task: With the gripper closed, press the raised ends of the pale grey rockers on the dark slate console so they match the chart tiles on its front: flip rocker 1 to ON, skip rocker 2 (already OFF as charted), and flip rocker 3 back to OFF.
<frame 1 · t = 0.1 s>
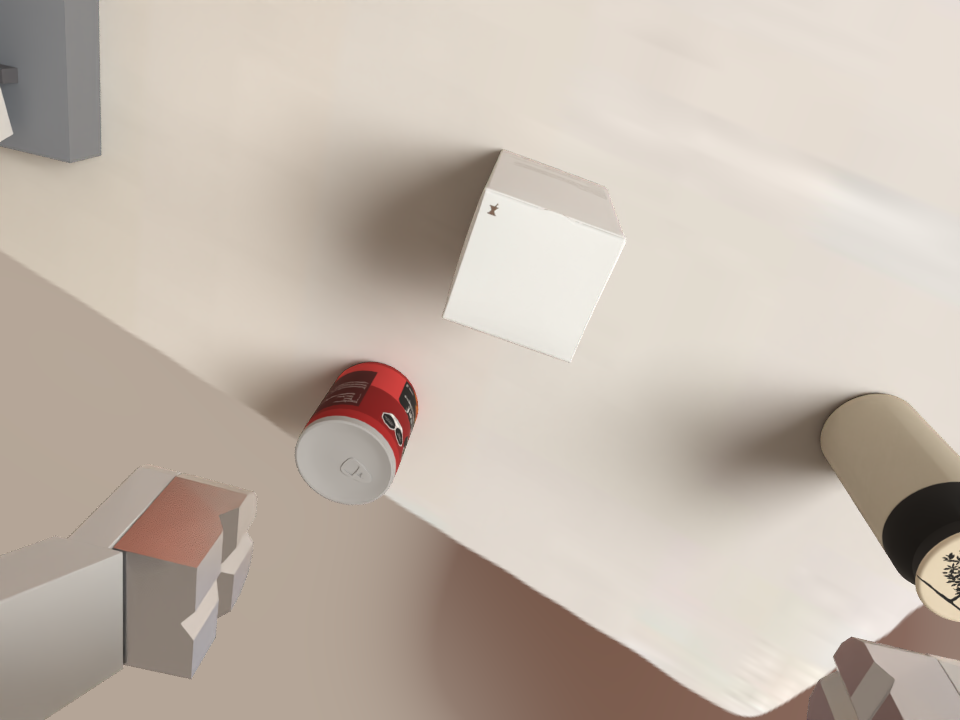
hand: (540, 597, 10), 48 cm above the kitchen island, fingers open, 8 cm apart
travel mug: (867, 432, 60), on the kitchen island
supplement box: (536, 221, 56), on the kitchen island
canned food: (377, 397, 64), on the kitchen island
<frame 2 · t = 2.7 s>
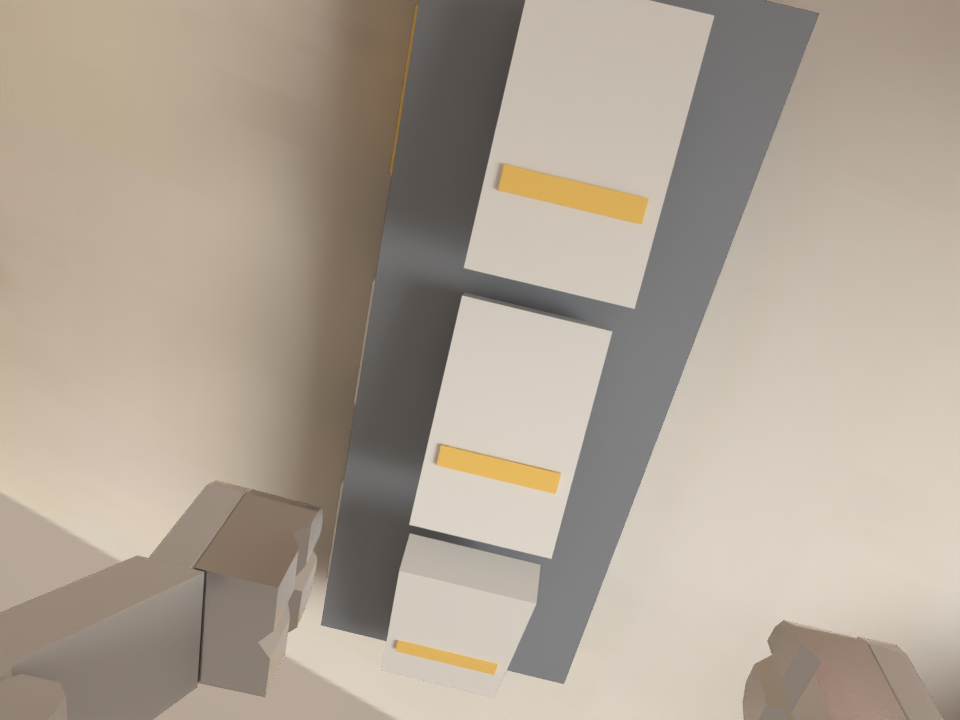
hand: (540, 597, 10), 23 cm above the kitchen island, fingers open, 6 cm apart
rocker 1: (582, 149, 23), point 7 cm above the kitchen island, hinge at -16.0°
rocker 3: (454, 623, 32), point 7 cm above the kitchen island, hinge at 16.0°
console: (517, 351, 33), on the kitchen island
rocker 2: (508, 425, 27), point 7 cm above the kitchen island, hinge at -16.0°
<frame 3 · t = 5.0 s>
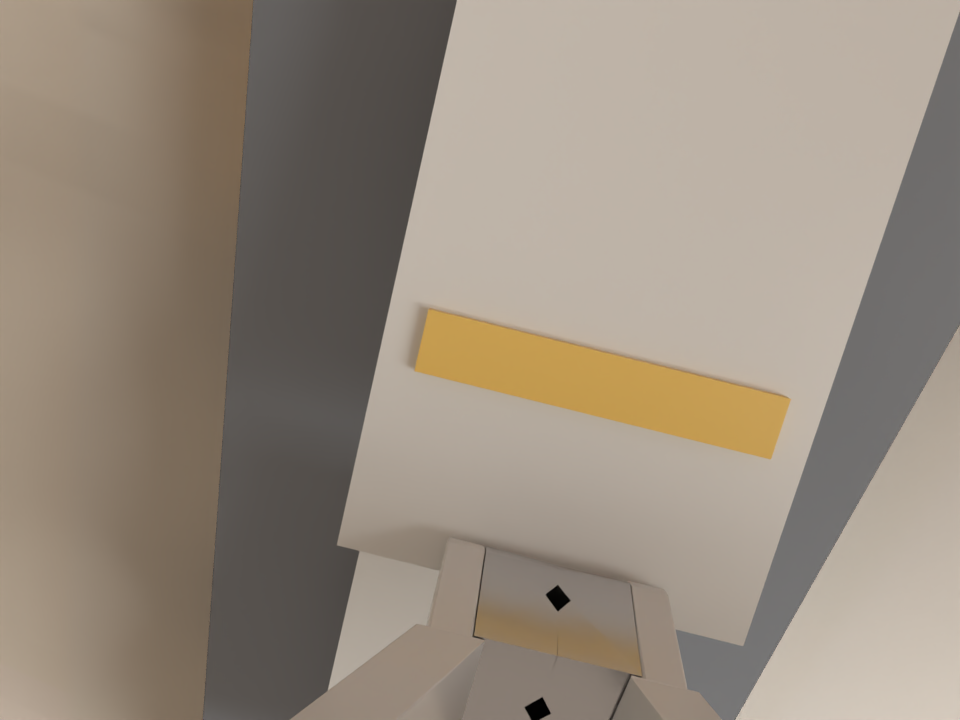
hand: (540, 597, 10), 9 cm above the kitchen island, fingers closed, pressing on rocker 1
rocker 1: (621, 263, 9), point 7 cm above the kitchen island, hinge at -15.5°, touching gripper
console: (493, 531, 20), on the kitchen island
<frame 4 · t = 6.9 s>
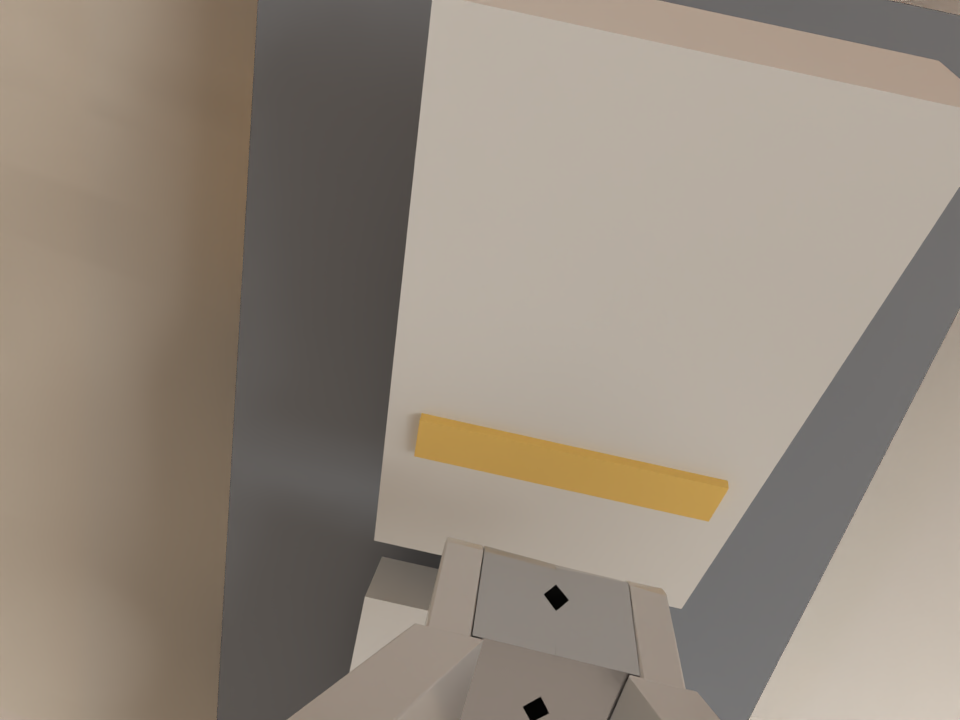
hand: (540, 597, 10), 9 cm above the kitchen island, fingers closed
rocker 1: (595, 355, 10), point 7 cm above the kitchen island, hinge at 15.7°
console: (491, 575, 21), on the kitchen island
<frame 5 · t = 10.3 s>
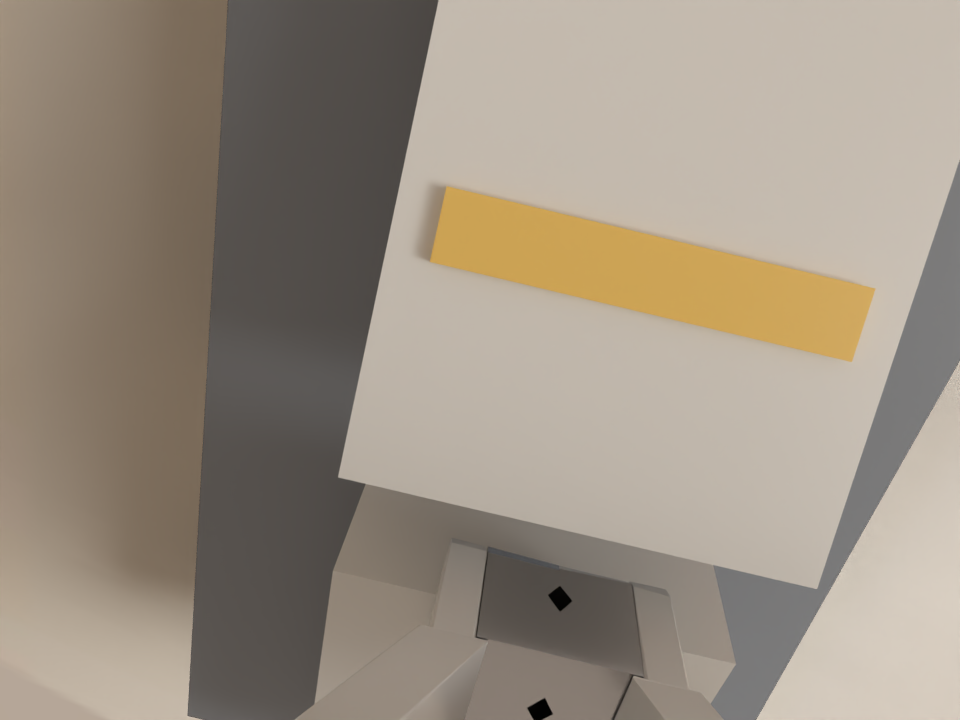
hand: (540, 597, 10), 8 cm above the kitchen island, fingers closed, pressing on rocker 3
console: (614, 99, 15), on the kitchen island
rocker 2: (667, 144, 8), point 7 cm above the kitchen island, hinge at -16.0°
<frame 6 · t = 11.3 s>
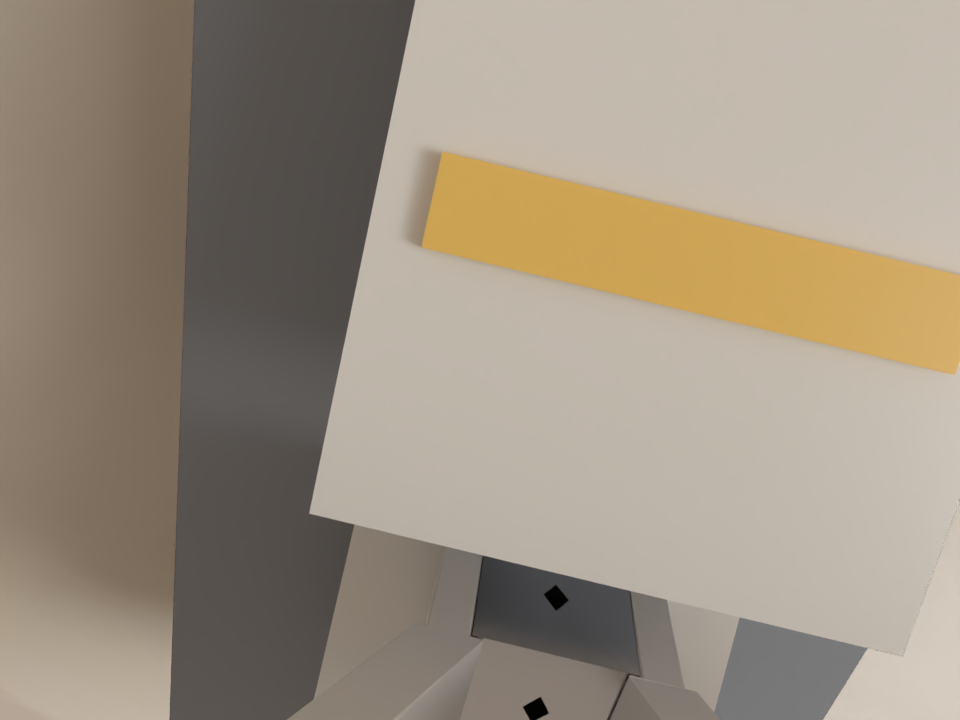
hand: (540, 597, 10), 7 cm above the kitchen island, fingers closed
console: (639, 74, 13), on the kitchen island
rocker 2: (717, 104, 7), point 7 cm above the kitchen island, hinge at -16.0°
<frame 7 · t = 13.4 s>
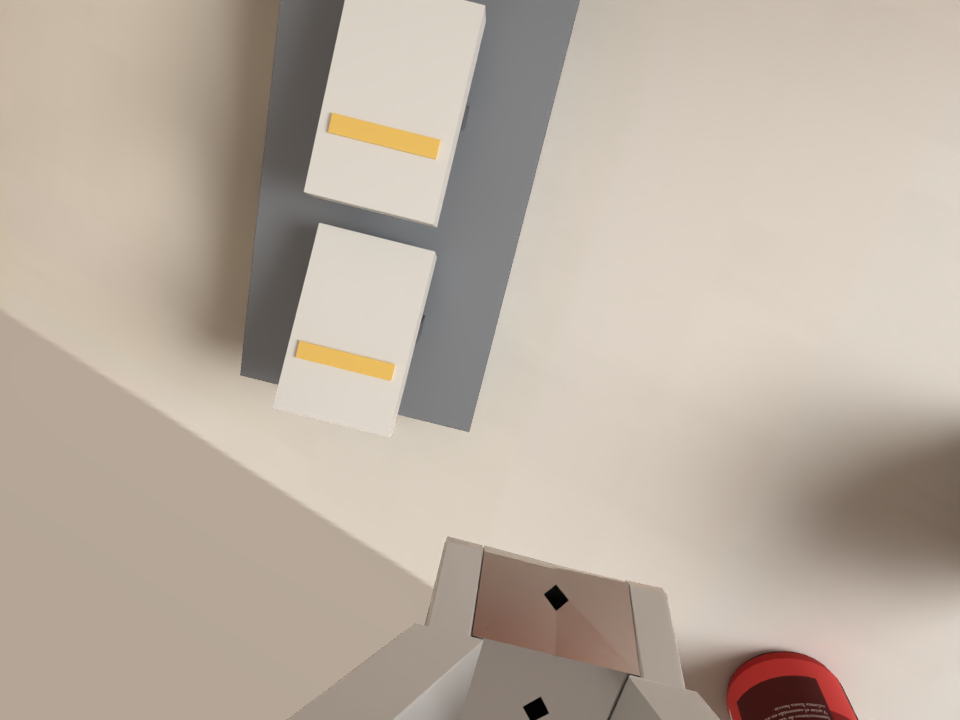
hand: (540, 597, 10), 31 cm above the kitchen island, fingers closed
rocker 3: (356, 330, 34), point 7 cm above the kitchen island, hinge at -23.2°
console: (423, 100, 36), on the kitchen island
canned food: (780, 689, 49), on the kitchen island
rocker 2: (395, 105, 30), point 7 cm above the kitchen island, hinge at -16.0°
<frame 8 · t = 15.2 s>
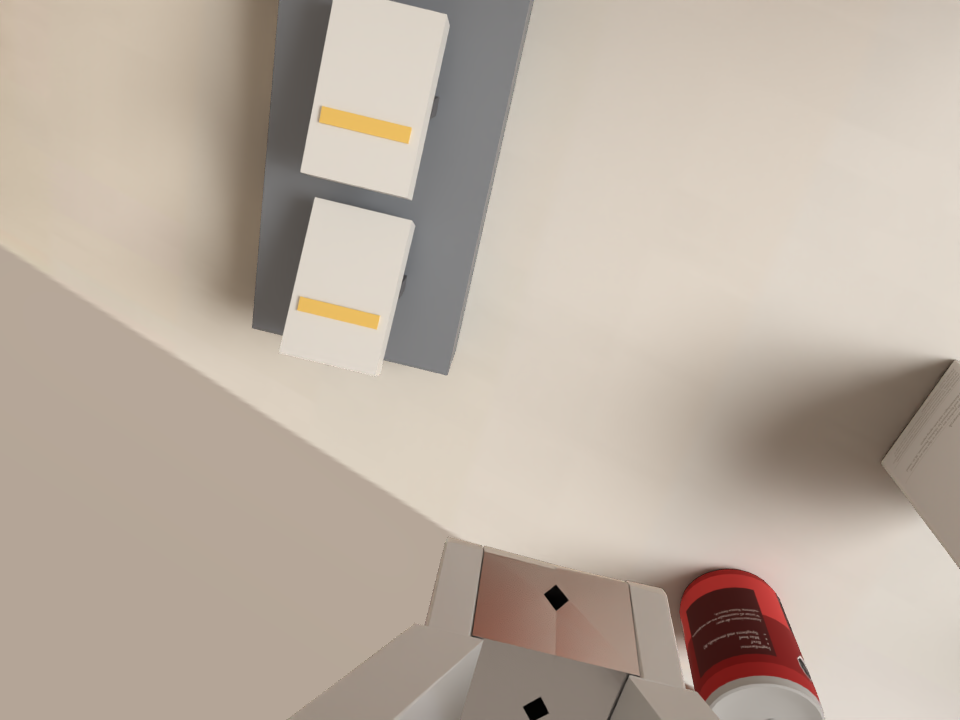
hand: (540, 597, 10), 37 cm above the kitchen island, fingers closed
rocker 3: (347, 288, 40), point 7 cm above the kitchen island, hinge at -23.2°
console: (403, 89, 42), on the kitchen island
canned food: (727, 602, 56), on the kitchen island
rocker 2: (375, 98, 36), point 7 cm above the kitchen island, hinge at -16.0°
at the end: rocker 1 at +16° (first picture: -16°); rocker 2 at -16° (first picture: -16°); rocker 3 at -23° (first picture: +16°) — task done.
